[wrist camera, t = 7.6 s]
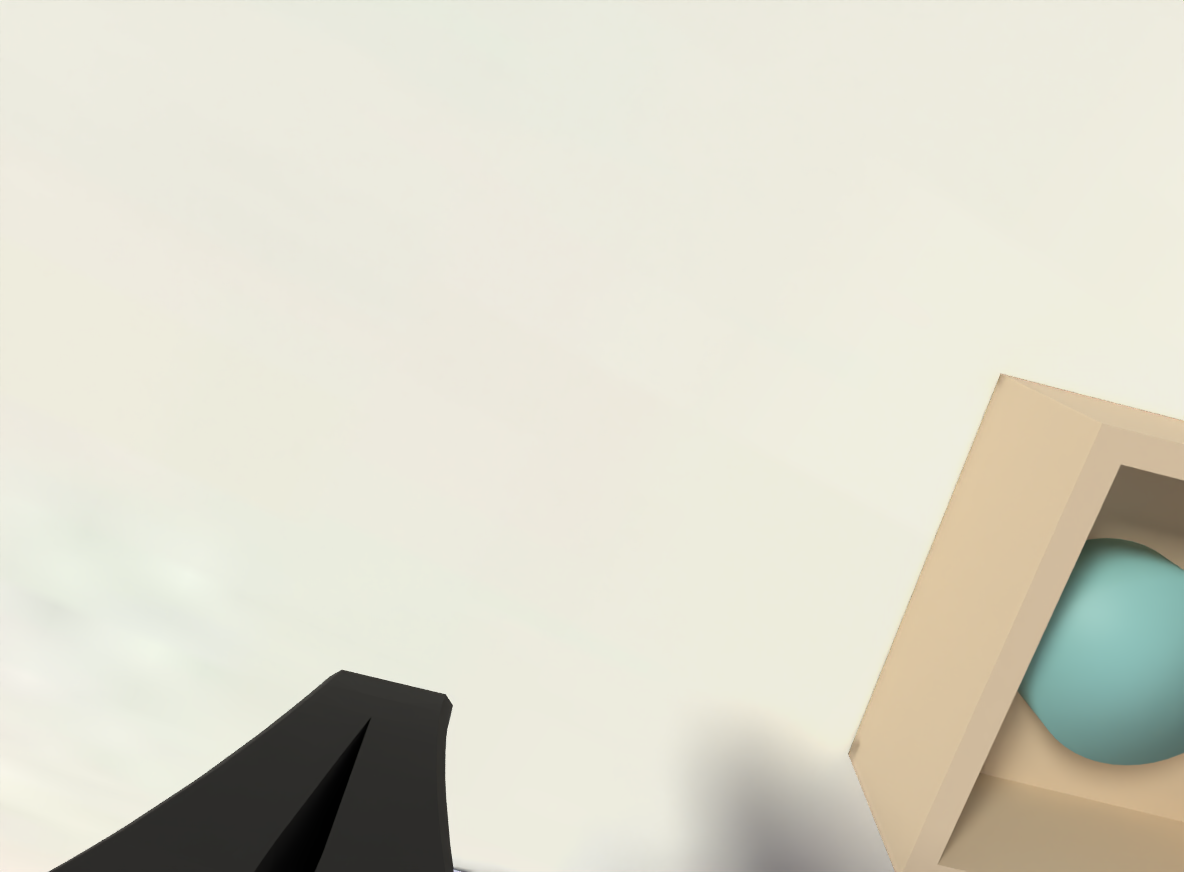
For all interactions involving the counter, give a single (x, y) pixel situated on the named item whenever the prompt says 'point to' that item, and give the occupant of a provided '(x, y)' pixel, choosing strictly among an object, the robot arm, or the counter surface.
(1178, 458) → the box
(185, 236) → the counter surface
